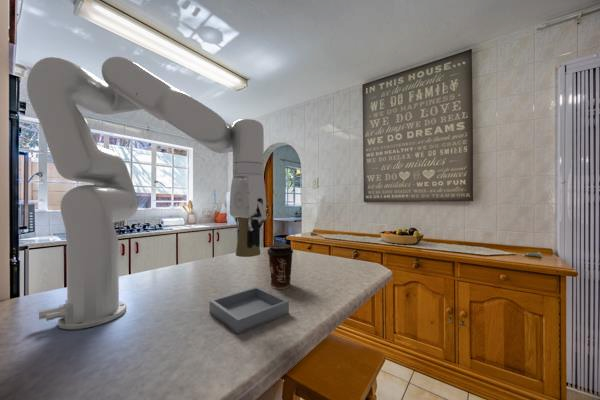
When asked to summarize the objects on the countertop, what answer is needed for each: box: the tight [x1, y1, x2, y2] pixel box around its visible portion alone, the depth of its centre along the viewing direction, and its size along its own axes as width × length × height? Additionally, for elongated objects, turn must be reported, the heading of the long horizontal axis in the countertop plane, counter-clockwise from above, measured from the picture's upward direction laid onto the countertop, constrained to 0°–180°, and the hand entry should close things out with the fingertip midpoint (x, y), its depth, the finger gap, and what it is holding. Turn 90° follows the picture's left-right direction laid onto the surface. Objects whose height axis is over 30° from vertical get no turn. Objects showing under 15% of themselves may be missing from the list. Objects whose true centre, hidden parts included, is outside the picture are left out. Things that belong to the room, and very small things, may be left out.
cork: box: [235, 215, 261, 258], centre depth 62 cm, size 6×6×11 cm
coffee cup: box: [267, 243, 294, 290], centre depth 81 cm, size 9×8×13 cm
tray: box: [209, 286, 290, 335], centre depth 62 cm, size 14×14×3 cm
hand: (248, 244), depth 62 cm, fingers closed on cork, 3 cm apart
